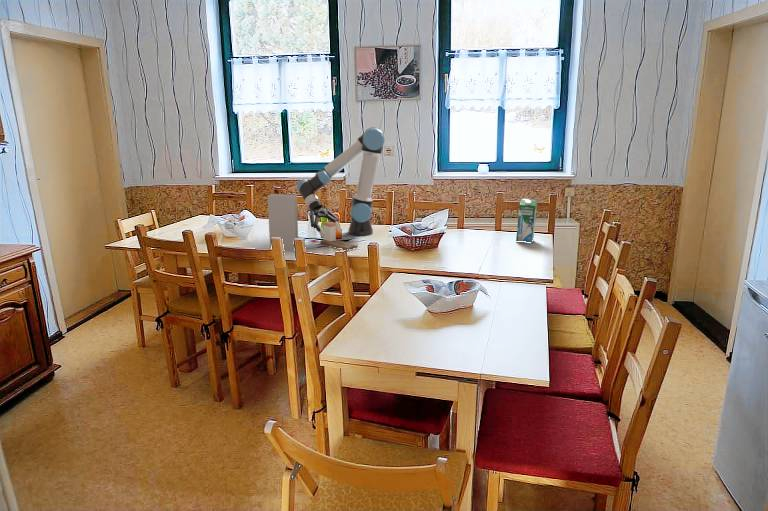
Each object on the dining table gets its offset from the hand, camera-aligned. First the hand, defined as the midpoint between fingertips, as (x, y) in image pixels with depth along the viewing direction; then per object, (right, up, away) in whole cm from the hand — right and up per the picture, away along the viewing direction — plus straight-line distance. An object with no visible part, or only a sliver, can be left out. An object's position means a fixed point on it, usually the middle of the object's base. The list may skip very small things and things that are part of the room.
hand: (332, 233), depth 287 cm
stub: (-2, -4, +3) cm, 5 cm away
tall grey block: (-25, -10, -11) cm, 29 cm away
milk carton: (+113, -4, +17) cm, 115 cm away
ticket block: (+4, -7, -1) cm, 8 cm away
